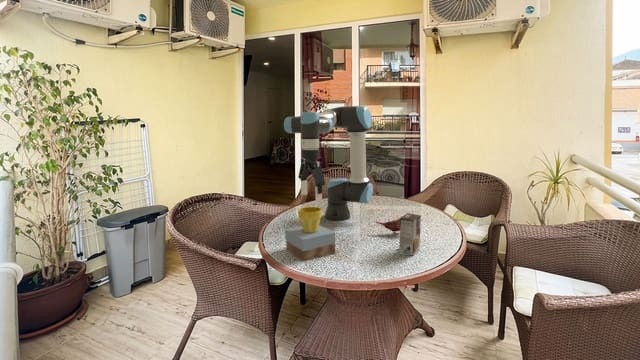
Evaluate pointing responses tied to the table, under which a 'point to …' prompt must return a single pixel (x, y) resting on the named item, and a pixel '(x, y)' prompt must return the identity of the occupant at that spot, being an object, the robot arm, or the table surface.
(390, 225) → the decorative bird figurine
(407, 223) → the coffee box
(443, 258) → the table surface
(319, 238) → the tower top
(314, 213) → the plant pot
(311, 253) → the tower base
